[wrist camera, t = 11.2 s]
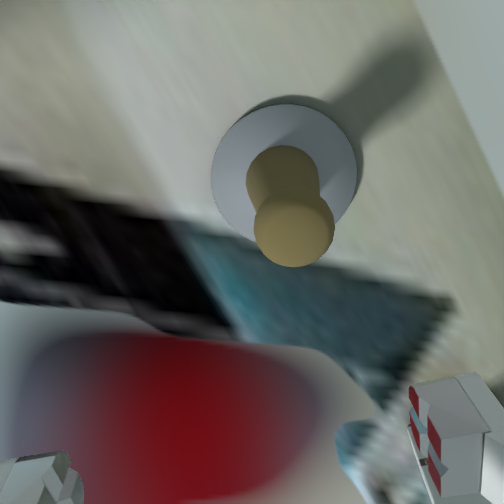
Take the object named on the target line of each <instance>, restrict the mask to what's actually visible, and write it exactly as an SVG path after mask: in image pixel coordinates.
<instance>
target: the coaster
mask: <svg viewBox="0 0 504 504" xmlns="http://www.w3.org/2000/svg"><path fill="white" fill-rule="evenodd" d="M279 145H286V146H294V147H296V148H298V149H301V150H303V151H304V152H306V153H307V154H308V155H309V156H310V157H311V158H312V159H313V161H314V163H315V165H316V167H317V170H318V176H319V186H320V197H322V198H323V199H324V200H325V201H326V202H327V204H328V206H329V208H330V210H331V212H332V213H333V216H334V223H335V224H336V223H337V222H338V220H339V219H340V218H341V217H342V216H343V214H344V213H345V211H346V210H347V208H348V206H349V204H350V202H351V200H352V197H353V195H354V191H355V187H356V181H357V165H356V159H355V155H354V152H353V149H352V146H351V144H350V142H349V140H348V139H347V137H346V136H345V134H344V133H343V131H342V130H341V129H340V128H339V127H338V126H337V125H336V124H335V123H334V122H333V121H332V120H331V119H330V118H328V117H327V116H325V115H324V114H322V113H321V112H319V111H317V110H314V109H312V108H309V107H306V106H302V105H296V104H276V105H270V106H266V107H262V108H260V109H257V110H255V111H253V112H251V113H249V114H247V115H246V116H244V117H242V118H241V119H240V120H239V121H237V122H236V123H235V124H234V125H233V126H232V127H231V128H230V129H229V130H228V131H227V133H226V134H225V136H224V137H223V138H222V140H221V142H220V144H219V146H218V148H217V150H216V153H215V155H214V160H213V164H212V171H211V187H212V193H213V197H214V200H215V203H216V205H217V207H218V210H219V212H220V213H221V215H222V216H223V218H224V219H225V220H226V221H227V223H228V224H229V225H230V226H231V227H232V228H233V229H234V230H236V231H237V232H238V233H240V234H241V235H243V236H244V237H246V238H248V239H250V240H252V241H255V242H256V239H255V235H254V220H255V215H256V211H255V209H254V207H253V204H252V202H251V200H250V198H249V195H248V192H247V188H246V174H247V171H248V169H249V166H250V164H251V162H252V161H253V160H254V159H255V158H256V157H257V155H258V154H259V153H261V152H263V151H265V150H266V149H268V148H270V147H274V146H279Z"/></svg>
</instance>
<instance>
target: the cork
mask: <svg viewBox="0 0 504 504" xmlns="http://www.w3.org/2000/svg"><path fill="white" fill-rule="evenodd" d="M246 188H247V192H248V195H249V198H250V200H251V202H252V204H253V207H254V209H255V211H256V215H255V220H254V235H255V239H256V243H257V245H258V246H259V248H260V249H261V251H262V252H263V254H264V255H265V256H266V257H268V258H269V259H270V260H271V261H273V262H274V263H277V264H280V265H282V266H288V267H299V266H304V265H308V264H310V263H312V262H314V261H316V260H318V259H319V258H320V257H321V256H322V255H323V254H324V253H325V252H326V251H327V250H328V248H329V246H330V245H331V243H332V241H333V236H334V230H335V223H334V216H333V213H332V212H331V210H330V208H329V206H328V204H327V202H326V201H325V200H324V199H323V198H322V197H320V186H319V176H318V170H317V167H316V165H315V163H314V161H313V159H312V158H311V157H310V156H309V155H308V154H307V153H306V152H304V151H303V150H301V149H298V148H296V147H294V146H286V145H279V146H274V147H270V148H268V149H266V150H265V151H263V152H261V153H259V154H258V155H257V157H256V158H255V159H254V160H253V161H252V162H251V164H250V166H249V169H248V171H247V174H246Z"/></svg>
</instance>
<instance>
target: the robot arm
mask: <svg viewBox="0 0 504 504" xmlns="http://www.w3.org/2000/svg"><path fill="white" fill-rule="evenodd" d="M408 395H409V399H410V401H411V403H412V406H413V407H412V408H411V410H410V411H409V416H410V424H411V429H412V433H413V436H414V439H415V442H416V445H417V447H418V449H419V451H420V453H421V454H422V455H424V456H425V457H427V458H428V471H429V473H430V475H431V477H432V480H433V482H434V484H435V486H436V488H437V490H438V492H439V494H440V497H441V498H444V497H450V496H457V495H464V494H470V493H477V492H481V495H483V496H484V497H485V498H486V499H488V500H489V501H490V502H491V503H492V504H504V408H503V407H502V405H501V404H500V403H499V401H498V400H497V399H496V397H495V396H494V394H493V393H492V392H491V390H490V389H489V388H488V386H487V385H486V384H485V382H484V381H483V379H482V378H481V377H480V375H478V374H477V373H475V372H473V373H468V374H463V375H458V376H453V377H447V378H442V379H437V380H432V381H427V382H422V383H417V384H412V385H409V389H408ZM70 462H71V459H70V458H69V456H68V455H67V453H66V451H56V452H49V453H43V454H37V455H31V456H24V457H20V458H14V459H8V460H2V461H0V504H83V503H84V488H83V484H82V480H81V478H80V476H79V474H78V473H77V472H75V471H73V470H72V469H70V468H69V465H70Z"/></svg>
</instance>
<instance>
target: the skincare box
mask: <svg viewBox="0 0 504 504" xmlns="http://www.w3.org/2000/svg"><path fill="white" fill-rule="evenodd" d="M407 431H408V434H409V437H410V441H411V444H412V447H413V450H414V453H415V456H416V459H417V462H418V465H419V468H420V471H421V474H422V476H423V479H424V482H425V485H426V487H427V490H428V493H429V496H430V499H431V501H432V504H492V503H491V502H490V501H489V500H488V499H486V498H485V497H484V496H483V495H481V492H477V493H470V494H464V495H457V496H450V497H444V498H441V497H440V494H439V492H438V490H437V488H436V486H435V484H434V482H433V480H432V477H431V475H430V473H429V471H428V458H427V457H425V456H424V455H422V454H421V453H420V451H419V449H418V447H417V445H416V442H415V439H414V436H413V433H412V429H411V426H409V427H408V428H407Z"/></svg>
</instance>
